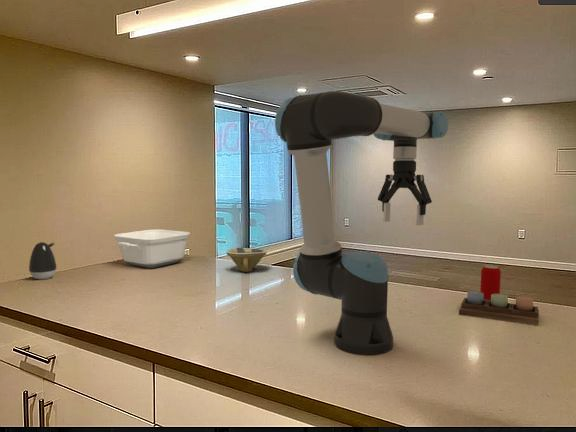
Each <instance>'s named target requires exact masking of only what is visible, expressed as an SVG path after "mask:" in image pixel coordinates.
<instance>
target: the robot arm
mask: <svg viewBox="0 0 576 432" xmlns="http://www.w3.org/2000/svg"><path fill="white" fill-rule="evenodd" d="M275 113H276V114H275V118H274V126H275V132H276V134H277V136H279V139H280V140H281V141H283V142H284V143H286V148H287V152H288V153H290V154H291V155H292V156H293V158H294V167H295V176H296V186H297V193H298V199H299V200H298V201H299V202H298V203H299V210H300V218H301V228H302V237H303V244H302V245H301V246H300V248H299V252H298V254H297V255H296V257H295V258H294V261H295V262H294V263H293V266H292V272H293V273H292V275H293V278H294V280H295V283H296V284H297V286H298V287H299V288H301V289H302V290H303V291H306V292H308V293H310V294H313V295H319V296H324V297H328V298H332V299H336V300H339V301H341V313H340V317H339V319H338V322H337V325H336V329H335V331H334V335H333V337H334V338H333V339H334V345H335V346H336V347H337V348H339V350H342V351H344V352H347V353H352V354H358V355H379V354H384V353H388V352H389V351H391V350H392V349H393V347H394V335H393V332H392V329H391V325H390V321H389V318H388V290H389V289H388V288H389V287H388V286H389V285H388V283H389V272H388V271H389V269H388V263H387V261H386V260H385V258H383V256H382V257H381V256H380V255H377V254H375V253H370V252H366V251H365V252H364V251H363V252H361V251H356V250H355V251H354V250H353V251H346V252H344V253H343V248H342V244H341V243H340V242H339V241H337V239H336V235H335V232H336V231H335V226H334V225H335V223H334V214H333V203H332V194H331V184H330V175H329V174H330V173H329V164H328V155H327V153H328V151H329V149H330V148H331V147H332V146H333V145H332V141H333V140H339V139H347V138H352V137H369V136H372V135H373V136H374V137H375V138H376V139H378V140H380V141H381V140H382V141H384V142H385V141H392V142H393V152H392V153H393V154H392V155H393V156H392V159H393V161H392V171H393V174H386V175H385V180H384V183H383V186H382V187H381V189H380V192H379V194H378V197H377V200H378V202H379V201H380V202H381V204H382V205H381V207H382V209H381V210H382V213H383V220H382V221H383V222H384V223H386V222H387V223H388V222H391V199H392V198H393V197H394V196H395V194H396V192H397V191H398V190H399V189H408V190H409V191H410V192H411V194H412V195H413V196H414V198H415V200H416V201H417V203H418V205H416V224H415V225H416V226H423V225H424V219H425V217H424V216H426V212H427V211H426V210H427V209H426V208H427V205H429V204H432V202H433V201H432V198H431V195H430V192H429V191H428V188H427V185H426V183H425V177H424V174H417V175H416V171H417V161H416V159H417V152H418V151H417V149H418V148H417V143H418V142H417V141H418V140H421V139H423V140H425V139H426V140H427V139H429V140H430V139H438V138H439V139H440V138H441V139H442V138H443V137H445V136H446V135H447V133H448V130H449V119H448V116H447V115H446V114H445V112H443V111H433V112H425V111H419V110H414V109H410V108H409V109H408V108H405V107H404V108H403V107H399V106H394V105H389V104H385V103H384V104H383V103H380V102H379V101H378V99H376V98H375V97H370V96H365V95H361V94H357V93H353V92H352V93H351V92H347V91H339V90H338V91H337V90H329V91H324V92H318V93H309V94H303V95H302V94H300V95H296V96H293V97H289V98H287V99H285V100H284V101H283V102H282V103H281V104H280V106H279V107H278V109H277V111H276V112H275ZM415 182H416V183H415Z"/></svg>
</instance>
